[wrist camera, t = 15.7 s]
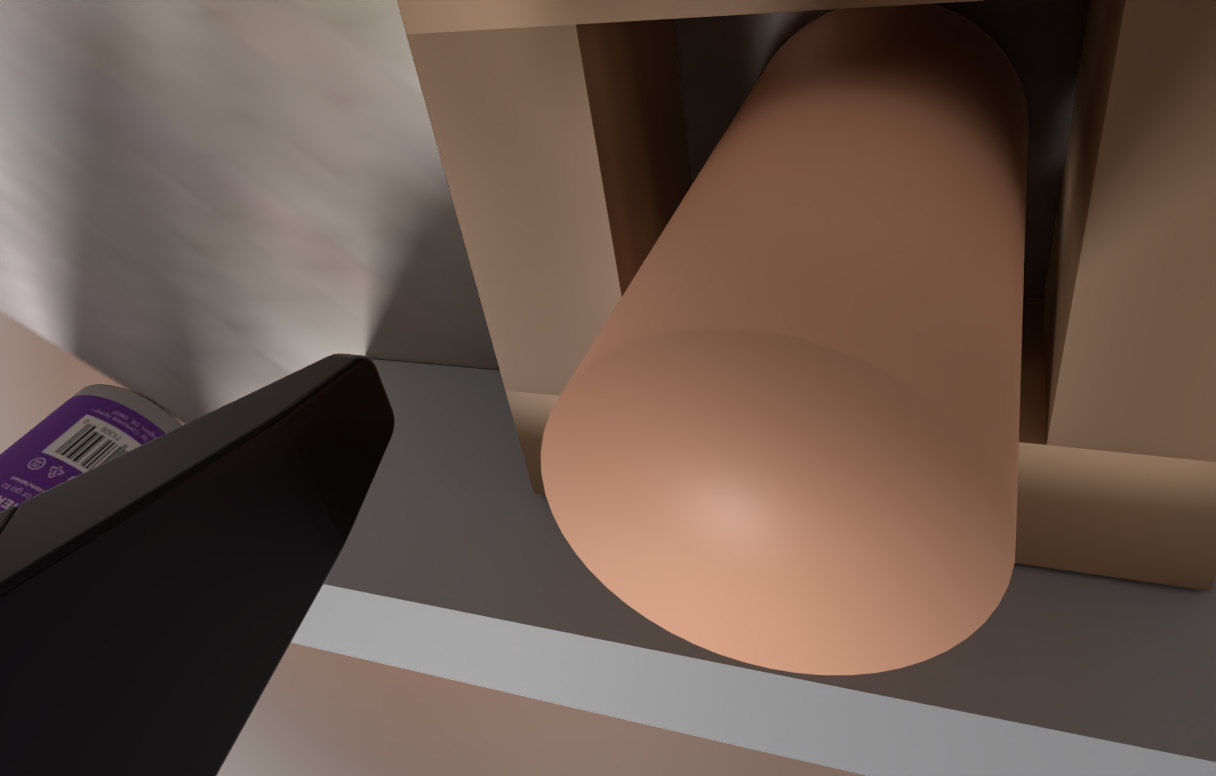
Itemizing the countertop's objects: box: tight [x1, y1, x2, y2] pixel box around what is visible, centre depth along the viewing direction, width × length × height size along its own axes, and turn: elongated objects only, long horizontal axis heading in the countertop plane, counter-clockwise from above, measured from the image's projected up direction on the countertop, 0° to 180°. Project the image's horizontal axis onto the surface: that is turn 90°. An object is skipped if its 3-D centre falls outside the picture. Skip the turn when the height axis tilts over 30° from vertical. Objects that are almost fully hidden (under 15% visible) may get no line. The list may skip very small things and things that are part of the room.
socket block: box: [397, 0, 1216, 591], centre depth 12 cm, size 10×10×4 cm
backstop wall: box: [291, 359, 1216, 776], centre depth 16 cm, size 16×2×6 cm, turn 99°
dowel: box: [541, 4, 1028, 675], centre depth 11 cm, size 4×4×8 cm
